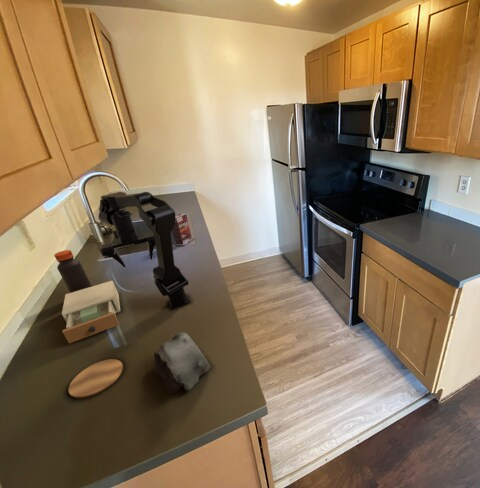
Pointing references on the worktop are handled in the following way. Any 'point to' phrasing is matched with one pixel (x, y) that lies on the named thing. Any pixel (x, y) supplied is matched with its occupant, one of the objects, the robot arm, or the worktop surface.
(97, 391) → the trivet
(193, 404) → the worktop surface
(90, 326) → the drawer
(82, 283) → the bottle
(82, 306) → the cabinet
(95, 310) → the block
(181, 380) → the rock
